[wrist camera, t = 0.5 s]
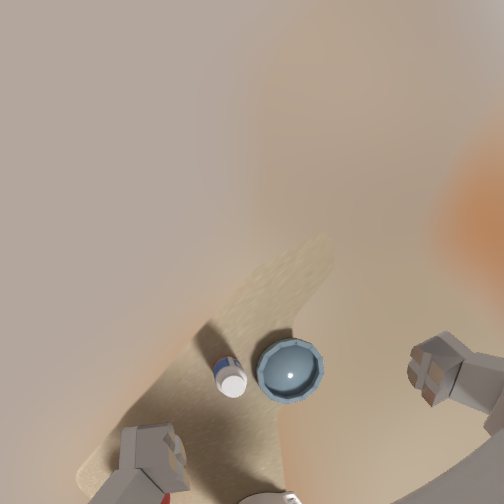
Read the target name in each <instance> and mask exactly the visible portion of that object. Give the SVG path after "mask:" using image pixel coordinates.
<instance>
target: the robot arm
mask: <svg viewBox="0 0 504 504" xmlns="http://www.w3.org/2000/svg"><path fill="white" fill-rule="evenodd" d="M410 356H411V357H412V360H411V361H410V363H409V364H408V369H407V374H408V379H409V381H410V382H411V384H412V385H413V386H414V388H417V389H420V390H422V397H423V398H424V399H425V400H426V401H427V403H428V404H429V405H430V406H431V407H433V406H435V405H437V404H438V403H440V402H442V401H444V400H445V399H447V398H449V399H452V400H454V401H457V402H459V403H461V404H464V405H466V406H469V407H471V408H474V409H476V410H479V411H481V412H483V413H486V414H488V415H489V416H488V418H487V420H486V421H485V423H484V428H485V430H486V431H487V432H488V433H489V434H490V435H491V436H492V437H491V438H490V439H489V440H487V441H486V442H485V443H484V444H482V445H481V446H480V447H479V448H477V449H476V450H475V451H474V452H472V453H471V454H470V455H468V456H467V457H466V458H464V459H463V460H461V461H460V462H459V463H457V464H456V465H455V466H453V467H452V468H450V469H449V470H447V471H446V472H444V473H443V474H441V475H440V476H438V477H437V478H435V479H433V480H432V481H430V482H429V483H427V484H425V485H424V486H422V487H420V488H419V489H417V490H415V491H413V492H412V493H410V494H408V495H406V496H405V497H403V498H401V499H399V500H397V501H395V502H393V503H391V504H504V358H501V357H496V356H492V355H488V354H483V353H479V352H477V353H473V352H472V351H471V350H470V349H469V348H468V347H466V346H465V345H464V344H463V343H462V342H461V341H459V340H458V339H457V338H456V337H455V336H453V335H452V334H451V333H450V332H447V331H444V332H442V333H440V334H438V335H436V336H435V337H432V338H430V339H428V340H426V341H424V342H422V343H420V344H418V345H417V346H414V347H413V349H412V350H411V354H410ZM186 462H187V460H186V453H185V449H184V446H183V443H182V441H181V439H180V437H179V436H177V435H175V432H174V427H173V426H172V424H171V423H170V422H169V423H161V424H152V425H142V426H133V427H124V428H123V430H122V433H121V445H120V458H119V470H114V471H113V473H112V474H111V475H110V477H109V478H108V479H107V480H106V482H105V483H104V484H103V485H102V487H101V488H100V489H99V491H98V492H97V493H96V494H95V496H94V497H93V498H92V499H91V501H90V502H89V503H88V504H161V502H162V500H163V498H164V496H165V494H166V493H174V492H182V491H188V490H190V485H189V477H188V473H187V471H186V470H185V468H184V465H185V464H186ZM238 504H303V503H302V502H301V501H300V499H299V498H298V497H297V495H296V494H295V493H294V492H292V491H289V492H284V493H260V494H255V495H252V496H249V497H247V498H245V499H243V500H242V501H240V502H239V503H238Z"/></svg>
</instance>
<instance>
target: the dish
mask: <svg viewBox="0 0 504 504" xmlns="http://www.w3.org/2000/svg"><path fill="white" fill-rule="evenodd" d="M323 375H324V367H323V358H322V356H321V355H320V353H319V352H318V351H317V350H316V348H315V347H314V346H313V345H312V344H311V343H308V342H306V341H303V340H300V339H297V338H287V339H282V340H279V341H276V342H275V343H273V344H272V345H270V346H269V347H268V348H267V349H266V350H265V351H264V352H263V353H262V355H261V356H260V358H259V360H258V363H257V367H256V376H257V380H258V385H259V387H260V389H261V390H262V391H263V392H264V393H265V394H266V395H267V396H268V397H269V398H270V400H273V401H277V402H281V403H284V404H290V403H294V402H298V401H301V400H304V399H306V398H307V397H308V396H309V395H311V394H312V393H313V392H314V391H315V390H316V389H317V388H318V386H319V384H320V382H321V379H322V377H323Z"/></svg>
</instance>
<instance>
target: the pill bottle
mask: <svg viewBox="0 0 504 504" xmlns="http://www.w3.org/2000/svg"><path fill="white" fill-rule="evenodd" d="M213 373H214V378H215V383H216V386H217V388H218V389H219V390H220V391H221V392H222V393H224V394H225V395H226V396H228V397H232V398H234V397H238V396H240V395H242V394H243V393H244V391H245V388H246V384H247V377H246V374H245V372H244V370H243V368H242V366H241V364H240V363H239V361H238V360H236V359H235V358H233V357H222V358H220V359H219V360H217V361H216V363H215V365H214V368H213Z"/></svg>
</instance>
